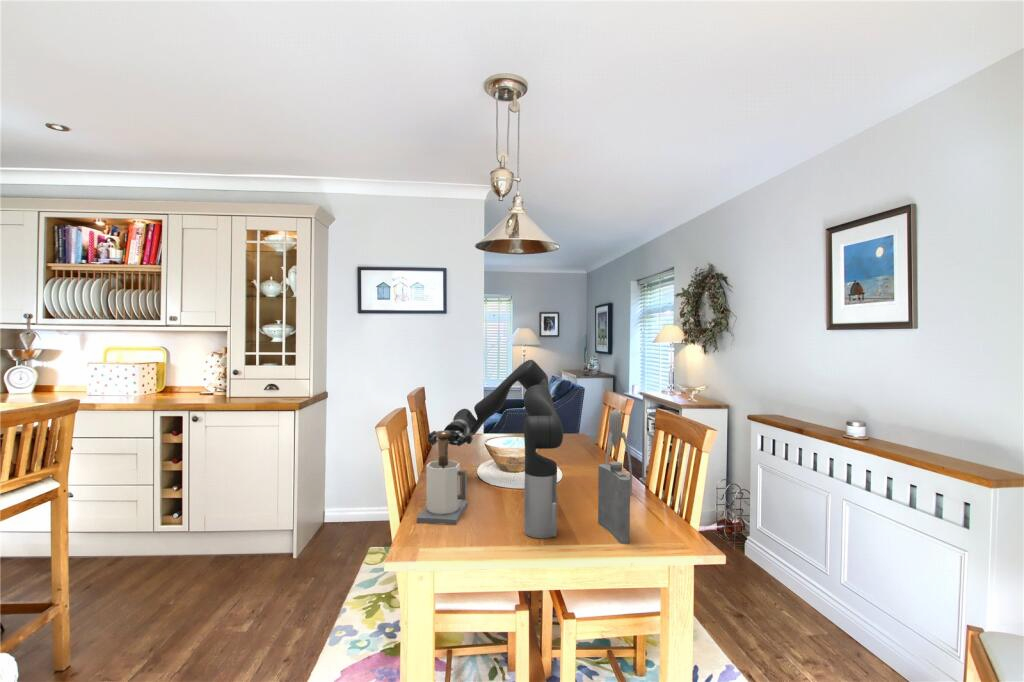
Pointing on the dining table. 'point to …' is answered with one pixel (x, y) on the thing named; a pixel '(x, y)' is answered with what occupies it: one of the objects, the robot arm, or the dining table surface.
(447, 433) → the plunger
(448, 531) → the dining table surface
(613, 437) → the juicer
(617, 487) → the hip flask
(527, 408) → the robot arm
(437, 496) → the coffee press
